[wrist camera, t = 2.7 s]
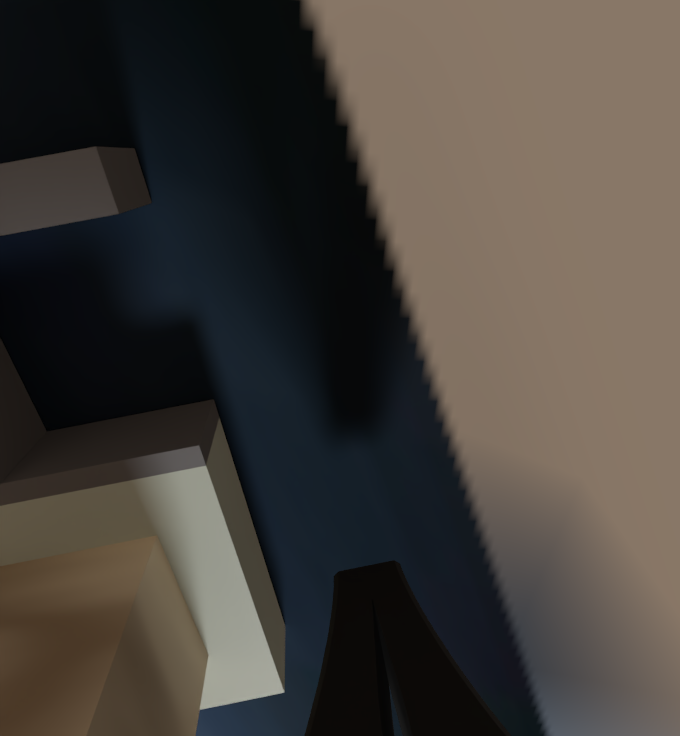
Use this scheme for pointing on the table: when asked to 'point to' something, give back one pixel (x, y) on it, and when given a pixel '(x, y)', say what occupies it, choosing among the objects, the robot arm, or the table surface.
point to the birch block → (98, 645)
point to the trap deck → (135, 462)
